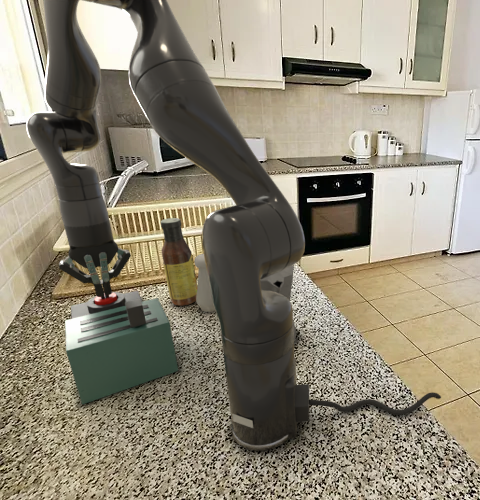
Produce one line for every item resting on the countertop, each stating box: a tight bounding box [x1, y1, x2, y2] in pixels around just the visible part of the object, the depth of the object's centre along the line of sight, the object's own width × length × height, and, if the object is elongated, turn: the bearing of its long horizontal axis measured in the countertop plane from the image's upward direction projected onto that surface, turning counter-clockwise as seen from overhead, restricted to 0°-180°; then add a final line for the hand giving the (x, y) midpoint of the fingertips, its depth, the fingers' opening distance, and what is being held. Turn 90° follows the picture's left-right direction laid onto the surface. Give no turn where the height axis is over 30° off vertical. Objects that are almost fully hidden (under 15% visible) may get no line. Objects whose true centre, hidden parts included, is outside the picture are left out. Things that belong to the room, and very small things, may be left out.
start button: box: [94, 293, 117, 305], centre depth 80 cm, size 4×4×2 cm
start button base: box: [70, 290, 143, 319], centre depth 81 cm, size 13×10×4 cm
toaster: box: [64, 297, 179, 405], centre depth 63 cm, size 14×10×10 cm
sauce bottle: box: [160, 217, 198, 307], centre depth 85 cm, size 6×6×20 cm
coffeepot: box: [260, 265, 297, 343], centre depth 73 cm, size 15×9×18 cm, turn 26°
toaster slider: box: [125, 299, 146, 328], centre depth 60 cm, size 2×3×4 cm
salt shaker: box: [194, 253, 216, 313], centre depth 83 cm, size 6×6×13 cm
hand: (105, 296), depth 80 cm, fingers closed
